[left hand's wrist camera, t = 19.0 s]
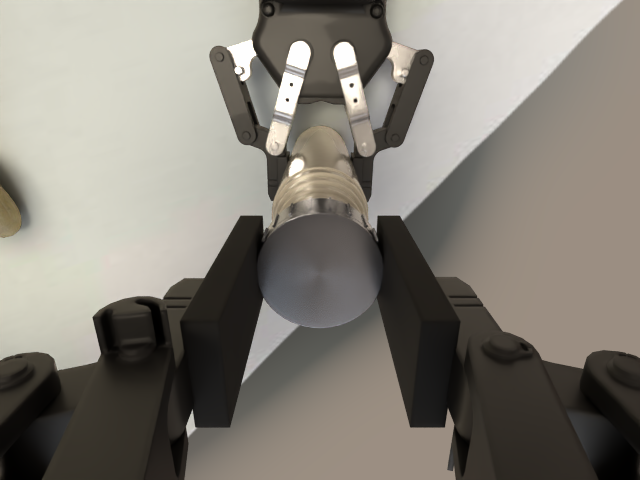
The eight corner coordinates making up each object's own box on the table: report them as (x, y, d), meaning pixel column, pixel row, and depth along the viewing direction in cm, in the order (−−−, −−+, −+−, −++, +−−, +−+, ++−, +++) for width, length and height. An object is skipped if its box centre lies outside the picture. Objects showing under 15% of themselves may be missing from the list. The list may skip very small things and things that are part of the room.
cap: (331, 322, 15) (333, 349, 14) (239, 264, 14) (229, 286, 13) (402, 241, 14) (412, 260, 13) (306, 171, 13) (304, 184, 12)
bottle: (290, 129, 33) (241, 211, 13) (343, 122, 33) (381, 193, 12) (298, 181, 35) (266, 329, 14) (348, 175, 34) (391, 316, 14)
